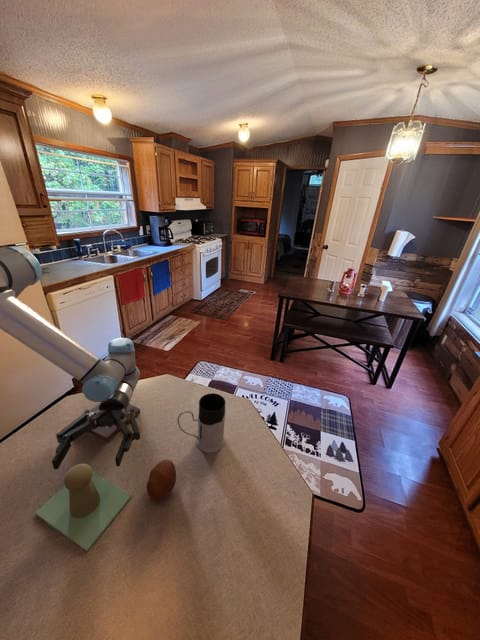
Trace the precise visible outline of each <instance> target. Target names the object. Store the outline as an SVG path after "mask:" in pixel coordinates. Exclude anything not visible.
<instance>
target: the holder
mask: <svg viewBox="0 0 480 640" xmlns="http://www.w3.org/2000/svg"><path fill="white" fill-rule="evenodd" d="M100 403H101V402H98V404H97V405H95V406H94V407H92V408H91V409H90V410H89V412H95V411H97V410H98V408H99V405H100ZM131 409H135V419H136V418H137V417H138V416H140V415H141V408H140V407H137V406H135V405H133V404H130V403H129V404H128V407H127V409H126V412H128V411H130V410H131ZM122 421H123V422H124V424H125V425H126V426H127V427H128V425H130V424H131V423H130V420H129V419H127V417H125V418H123V419H122ZM95 424H96V421H95ZM120 433H121V432H120V430H119V429H117V428H116V426H115V425H113V426H112V427H107V426H105V427H100V426H99V427H98V428H96V429H94V430H93V429H92V430H90V431H89V432H87V433H86V434H89V435H90V436H92V437H94V438H96V439H98V440H99V441H102V442H103V443H104V442H105V443H106V444H109V443H110V442H111V441H112V440H113V439H115V437H116V436H117V435H119V434H120Z"/></svg>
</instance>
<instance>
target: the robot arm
mask: <svg viewBox="0 0 480 640" xmlns="http://www.w3.org/2000/svg"><path fill="white" fill-rule="evenodd" d="M42 275H43V269H42V267H41V263H40V261H39V260H38V259H37V258H36V256H35V255H34V254H33V253H32V252H30V251H28V250H27V249H25V248H23V247H19V246H1V247H0V330H2V331H3V332H4V333H6V334H8V335H9V336H11V337H12V338H13V339H15V340H17V341H18V342H20V343H21V344H23V345H24V346H25V347H27V348H29V349H31V350H32V351H34V352H35V353H36V354H38V355H40V356H41V357H43V358H44V359H45V360H47V361H49V362H50V363H52V364H53V365H55V366H56V367H58V368H59V369H60V370H62V371H63V372H65V373H67V374H68V375H69V376H71V377H73V378H74V379H76V380H77V381H78V382H80V383H81V384H83V386H82V388H81V391H82V392H81V393H82V394H83V395H84V397H85V398H86V399H87V400H89V401H91V402H94V403H100V405H99V408H98V410H97V411H95V412H89V411H90V410H89V409H85V410H83V412H82V413H81V414H80V415H79V416H78V417H77V418H76V419H74V420H73V421H72V422H70V423H68V425H66V426H65V427H64V428H63V429H61V430H59V431H58V432H57V433H56V434H55V436H56V440H57V443H58V445H57V447H56V448H55V453H56V454H54V455H55V456H54V457H53V459H52V460H51V464H52V467H53V470H54V471H55V470H58V469H59V468H60V467H61V465H62V463H63V461H64V459H65V457H66V456H67V454H68V453H69V450H70V449H71V447H72V443H73V442H75V441H76V440H77V439H79V438H81V437H82V436H84V435H86V434H88V433H87V432H89V431H90V430H92V429H93V430H94V429H96V428H98V427H99V426H100V427H105V426H106V427H112V426H113V425H115V426H116V428H117V429H119V430H120V432H119V433H121V434H122V439H121V442H120V445H119V447H118V450H117V452H116V455H115V458H114V460H115V466H116V467H121V464H122V460H123V458H124V456H125V453H129V451H130V449H131V447H132V443H133V441H140V440H141V431H140V428H139V424H138V422H137V419H136V418H135V409H131V410H130V411H128V412H126V409H127V407H128V404H130V402H131V400H132V397H133V394H134V391H135V390H136V386H137V385H138V382H139V381H140V375H141V372H140V369H139V367H138V366H137V365H136V364H137V363H136V349H135V346H134V342H133V340H132V339H130V338H128V337H118V338H114V339H112V340H110V341H109V342H108V344H107V352H108V355H107V356H106V357H105V358H104V359H101V358H99V357H98V356H97V355H96V354H95V353H93V352H91V351H90V350H88V349H87V348H86V347H85V346H84V345H82V344H80V343H79V342H77V341H76V340H75V339H73V338H72V337H71V336H70V335H68V334H67V333H65V332H64V331H63V330H61V329H60V328H58V327H57V326H56V325H54V324H53V323H51V322H50V321H49V320H47V319H46V318H45V317H43V316H42V315H41V314H39V313H37V312H36V311H35V310H33V309H32V308H31V307H30V306H28V305H27V304H25V303H24V302H22V301H21V300H19V299H18V297H19V296H20V295H22V293H23V292H24V291H25V289H27V288H28V287H30V286H33V285H36V284H37V283H38V282H39V281H40V280H41V279H42V277H43V276H42ZM125 417H127V419H129V420H130V423H129V424H130V427H131V430H130V428H129V427H128V425H127V426H126V425H125V424H124V422H123V421H122V419H123V418H125ZM95 421H96V424H95Z"/></svg>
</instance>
